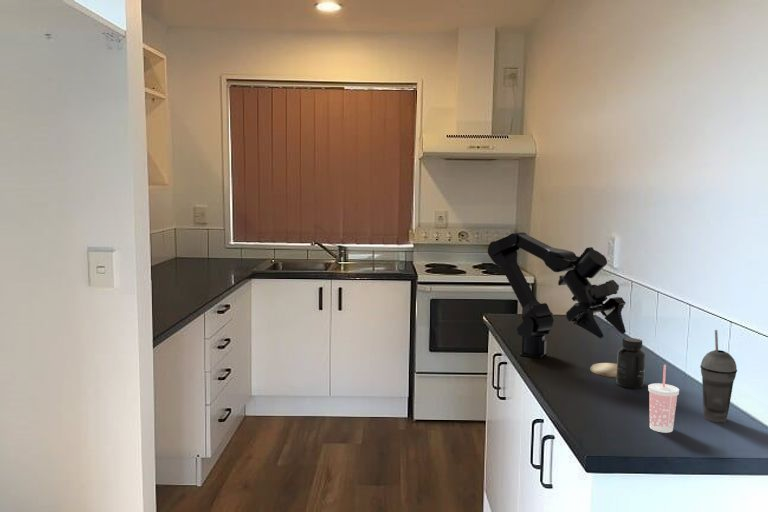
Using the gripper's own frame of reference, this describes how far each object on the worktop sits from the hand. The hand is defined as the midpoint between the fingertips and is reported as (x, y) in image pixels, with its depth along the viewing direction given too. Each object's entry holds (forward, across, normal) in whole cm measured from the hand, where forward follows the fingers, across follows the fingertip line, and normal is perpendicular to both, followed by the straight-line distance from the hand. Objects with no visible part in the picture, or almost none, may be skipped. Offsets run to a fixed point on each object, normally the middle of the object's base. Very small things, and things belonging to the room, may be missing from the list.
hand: (613, 335), depth 168 cm
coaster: (+5, +6, +12) cm, 14 cm away
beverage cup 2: (+30, -5, -13) cm, 34 cm away
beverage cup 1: (+28, -20, -11) cm, 36 cm away
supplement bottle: (+13, 0, +5) cm, 13 cm away
